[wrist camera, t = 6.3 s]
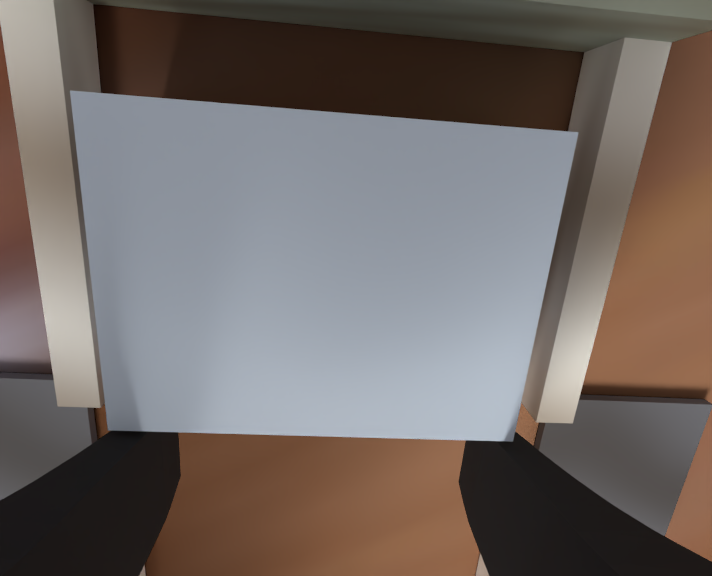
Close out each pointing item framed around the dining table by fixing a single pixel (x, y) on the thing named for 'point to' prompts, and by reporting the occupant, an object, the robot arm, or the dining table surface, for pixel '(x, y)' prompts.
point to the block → (314, 267)
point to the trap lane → (567, 269)
